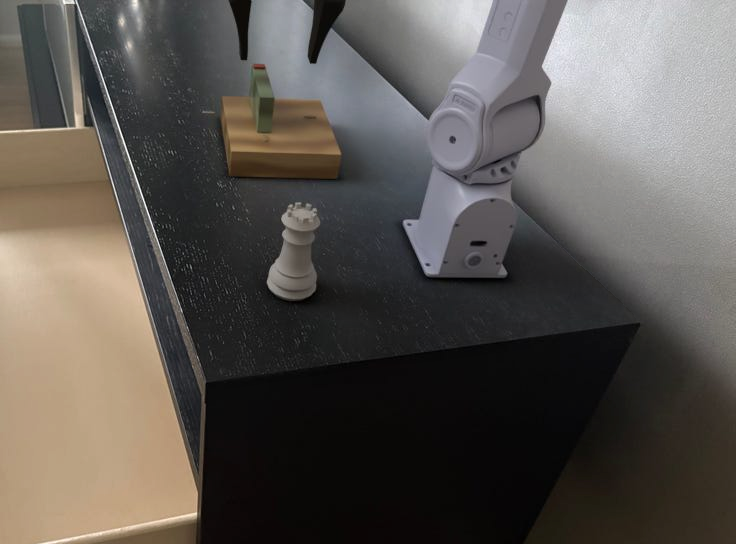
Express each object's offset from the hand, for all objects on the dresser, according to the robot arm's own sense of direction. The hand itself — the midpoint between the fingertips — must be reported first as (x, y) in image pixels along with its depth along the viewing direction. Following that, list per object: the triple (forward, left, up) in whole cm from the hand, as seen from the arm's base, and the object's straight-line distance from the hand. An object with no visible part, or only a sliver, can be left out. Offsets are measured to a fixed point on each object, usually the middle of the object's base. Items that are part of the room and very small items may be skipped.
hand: (277, 58), depth 83 cm
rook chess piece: (-30, +1, -10) cm, 31 cm away
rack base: (-2, +1, -9) cm, 10 cm away
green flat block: (-1, +1, -6) cm, 6 cm away
